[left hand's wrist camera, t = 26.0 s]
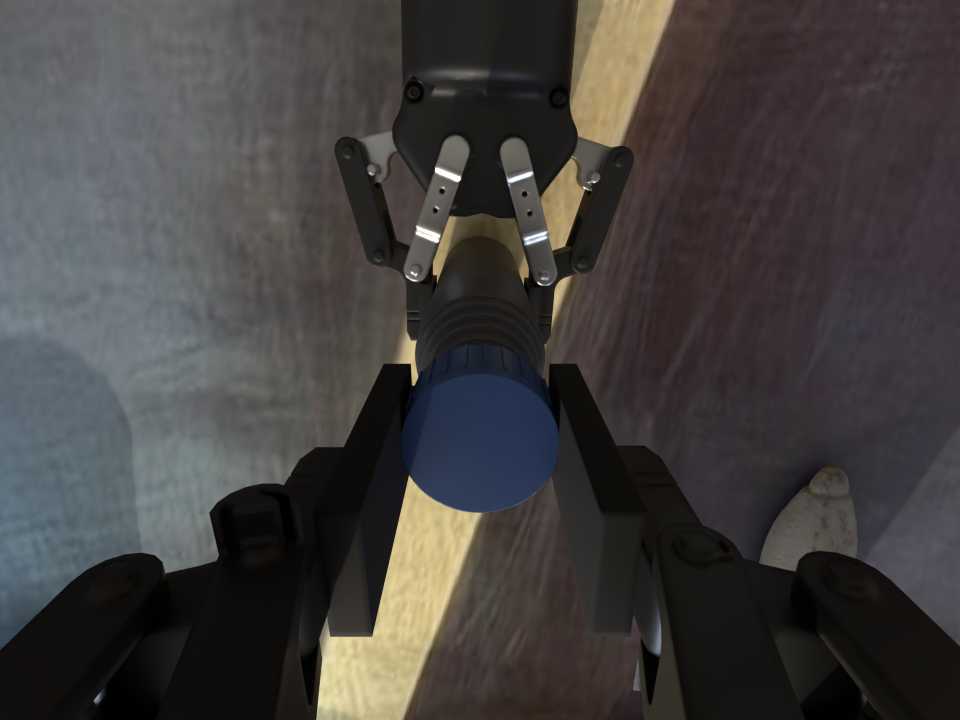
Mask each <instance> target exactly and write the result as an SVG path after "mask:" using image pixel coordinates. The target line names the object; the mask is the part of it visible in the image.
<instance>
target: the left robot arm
mask: <svg viewBox="0 0 960 720" xmlns="http://www.w3.org/2000/svg"><path fill="white" fill-rule="evenodd" d="M411 388H412V378H411V364H384V365H383V367H382V369H381V371H380V373H379V375H378V377H377V379H376V381H375V383H374V385H373V387H372V390H371V392H370V394H369V396H368V398H367V400H366V402H365V404H364V406H363V408H362V410H361V412H360V414H359V416H358V419H357V421H356V423H355V425H354V427H353V429H352V431H351V433H350V435H349V437H348V439H347V441H346V443H345V446H344V447H316V448H315V449H313V450H312V451H310V452H309V453H308V454H306V455H305V456H304V457H302V458H301V459H300V460H299V461H298V463H297V465H296V466H295V468H294V470H293V471H292V473H291V476H289V478H288V479H287V481H286V483H285V484H284V485H281V484H258V485H254V486H249V487H245V488H243V489H240V490H238V491H235V492H233V493H231V494H229V495H228V496H226V497H225V498H223V499H222V500H220V501H219V502H217V504H216V505H215V506H214V507H213V509H212V510H211V511H210V513H209V514H210V518H211V522H212V527H213V531H214V535H215V540H216V544H217V548H218V553H219V557H218V559H217V561H215V562H211V563H208V564H204V565H201V566H197V567H192V568H188V569H183V570H179V571H174V572H170V573H165V570H164V566H163V563H162V561H161V560H159V559H158V558H157V557H156V556H155V555H151V554H146V553H134V554H125V555H121V556H118V557H115V558H112V559H108V560H105V561H103V562H101V563H99V564H97V565H96V566H94V567H92V568H90V569H88V570H86V571H85V572H83V573H82V574H81V575H80V576H78V577H77V578H76V579H74V580H73V581H72V582H70V583H69V584H68V585H67V586H66V587H65V588H64V589H63V590H62V591H61V592H60V593H59V594H58V595H57V596H56V597H55V598H54V599H53V600H52V601H51V602H50V603H49V604H48V605H47V606H46V607H45V608H44V609H43V610H41V611H40V612H39V613H38V614H37V615H36V616H35V617H34V618H33V619H32V620H31V621H30V622H29V623H28V624H27V625H26V626H25V627H24V628H23V629H22V630H21V631H20V632H19V633H18V634H17V635H16V636H15V637H14V638H12V639H11V640H10V641H9V642H8V643H7V644H6V645H5V646H4V647H3V648H2V649H1V650H0V720H316V716H317V706H318V696H319V685H320V675H321V665H322V655H321V648H320V641H319V638H320V635H321V632H322V629H323V626H324V623H325V620H326V617H328V625H329V632H330V637H372V635H373V630H374V626H375V622H376V617H377V613H378V609H379V604H380V600H381V595H382V591H383V587H384V582H385V578H386V574H387V569H388V565H389V560H390V556H391V552H392V547H393V543H394V539H395V534H396V530H397V525H398V521H399V517H400V512H401V508H402V503H403V499H404V495H405V490H406V486H407V482H408V477H409V474H408V472H407V470H406V468H405V465H404V462H403V455H402V439H401V430H402V426H403V422H404V419H405V416H406V414H405V413H404V411H405V407H406V404H407V401H408V398H409V394H410V391H411ZM548 390H549V394H550V397H551V400H552V403H553V408H554V411H555V415H556V418H557V424H558V429H559V444H558V459H557V463H556V466H555V468H554V470H553V472H552V474H551V476H552V480H553V485H554V489H555V493H556V498H557V502H558V506H559V511H560V515H561V520H562V524H563V528H564V533H565V537H566V541H567V546H568V550H569V555H570V559H571V563H572V568H573V572H574V576H575V581H576V585H577V590H578V594H579V598H580V603H581V607H582V612H583V616H584V620H585V625H586V629H587V633H588V637H630V634H631V627H632V620H633V614H634V616H635V619H636V622H637V625H638V628H639V631H640V634H641V641H640V648H639V654H638V661H637V667H636V674H635V680H634V687H633V690H637V691H640V687H641V694H642V705H643V715H644V720H960V646H959V645H958V644H957V643H956V642H955V641H954V640H953V639H952V638H950V637H949V636H948V635H947V634H946V633H945V632H944V631H943V630H942V629H941V628H940V627H939V626H938V625H937V624H936V623H935V622H934V621H933V620H932V619H931V618H930V617H929V616H928V615H927V614H925V613H924V612H923V611H922V610H921V609H920V608H919V607H918V606H917V605H916V604H915V603H914V602H913V601H912V600H911V599H910V598H909V597H908V596H907V595H906V594H905V593H904V592H903V591H901V590H900V589H899V588H898V587H897V586H896V585H895V584H894V583H893V582H892V581H891V580H890V579H888V578H887V577H886V576H885V575H883V574H882V573H881V572H879V571H878V570H877V569H875V568H874V567H872V566H870V565H868V564H866V563H864V562H862V561H860V560H858V559H856V558H853V557H850V556H847V555H843V554H840V553H837V552H828V551H815V552H810V553H806V554H805V555H804V556H803V557H801V558H800V559H799V561H798V564H797V568H796V571H791V570H786V569H782V568H778V567H773V566H769V565H764V564H760V563H756V562H753V561H750V560H746V559H744V558H742V556H741V554H740V552H739V551H738V549H737V548H736V546H735V545H734V543H732V542H731V541H730V540H729V539H727V538H726V537H725V536H724V535H722V534H721V533H719V532H717V531H714V530H712V529H710V528H708V527H706V526H703V525H702V524H701V522H700V521H699V519H698V517H697V516H696V514H695V512H694V511H693V509H692V508H691V506H690V504H689V503H688V501H687V499H686V498H685V496H684V495H683V493H682V491H681V490H680V488H679V487H677V483H676V482H675V480H674V478H673V477H672V475H670V472H669V470H668V469H667V467H666V465H665V464H664V462H663V460H662V459H661V458H660V457H659V456H658V455H656V454H655V453H654V452H652V451H651V450H650V449H648V448H647V447H645V446H616V445H615V443H614V441H613V439H612V436H611V434H610V432H609V430H608V428H607V426H606V424H605V422H604V420H603V418H602V416H601V414H600V412H599V410H598V407H597V405H596V403H595V401H594V399H593V397H592V395H591V393H590V391H589V389H588V387H587V385H586V383H585V381H584V378H583V376H582V374H581V372H580V370H579V368H578V366H577V364H550V365H549V384H548ZM868 700H869V701H870V702H871V703H870V702H869V701H868ZM872 705H873V706H874V707H875V708H874V707H873V706H872ZM89 706H90V707H89ZM875 709H876V710H877V711H878V712H877V711H876V710H875Z"/></svg>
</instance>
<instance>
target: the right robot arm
mask: <svg viewBox="0 0 960 720" xmlns="http://www.w3.org/2000/svg"><path fill="white" fill-rule="evenodd" d="M577 9H578V0H401V18H402V72H403V98H402V104H401V108H400V111H399V113H398V115H397V117H396V119H395V121H394V124H393V128H392V130H389V131H385V132H381V133H377V134H373V135H369V136H365V137H361V138H355V137H343V138H341V139H339V140H338V141H337V143H336V145H335V155H336V158H337V162H338V165H339V168H340V172H341V175H342V178H343V181H344V185H345V188H346V191H347V195H348V198H349V201H350V205H351V208H352V211H353V214H354V218H355V221H356V224H357V228H358V231H359V234H360V237H361V241H362V244H363V247H364V251H365V254H366V257H367V260H368V262H369V263H370V264H371V265H372V266H374V267H377V268H383V267H385V268H387V269H390V270H392V271H395V272H397V273H399V274H400V275H401V276H402V277H403V278H404V280H405V282H406V291H407V332H408V334H409V336H410V339H411V340H414V341H417V339H418V335H419V332H420V330H421V327H422V324H423V321H424V319H425V316H426V313H427V310H428V307H429V305H430V302H431V299H432V296H433V294H434V291H435V288H436V285H437V275H433V260H434V258H435V255H436V252H437V249H438V246H439V243H440V240H441V238H442V235H443V232H444V230H445V227H446V224H447V221H448V218H449V216H459V217H467V216H471V215H475V214H479V213H485V214H488V215H492V216H495V217H498V218H515V221H516V225H517V228H518V232H519V235H520V238H521V242H522V245H523V249H524V252H525V256H526V260H527V263H528V267H529V278H524V288H525V291H526V293H527V296H528V299H529V302H530V305H531V307H532V310H533V313H534V316H535V318H536V321H537V324H538V327H539V329H540V332H541V335H542V338H543V342H544V344H546V343H547V341H548V339H549V337H550V335H551V324H552V313H553V301H554V290H555V287H556V285H557V283H558V282H559V281H560V280H561V279H563V278H565V277H568V276H571V275H574V274H577V273H579V274H586V273H588V272H590V271H591V270H592V269H593V268H594V266H595V263H596V260H597V258H598V255H599V253H600V250H601V247H602V245H603V242H604V239H605V237H606V234H607V231H608V229H609V226H610V223H611V221H612V218H613V215H614V213H615V210H616V207H617V205H618V202H619V200H620V197H621V194H622V192H623V189H624V186H625V184H626V181H627V178H628V176H629V173H630V170H631V168H632V165H633V162H634V156H633V153H632V151H631V150H630V149H629V148H627V147H625V146H617V147H608V146H605V145H602V144H599V143H596V142H593V141H590V140H587V139H584V138H581V137H578V133H577V129H576V126H575V124H574V122H573V119H572V115H571V111H570V90H571V78H572V67H573V55H574V44H575V32H576V20H577ZM397 152H399V154H400V155H401V157H402V158H403V160H404V161H405V163H406V164H407V166H408V167H409V169H410V170H411V171H412V173H413V174H414V176H415V177H416V179H417V180H418V182H419V183H420V185H421V186H422V188H423V189H424V191H425V192H426V194H427V195H426V198H425V201H424V204H423V207H422V210H421V213H420V216H419V219H418V222H417V225H416V229H415V234H414V237H413V240H412V243H411V246H409V245H406V244H404V243H401V242H399V241H397V239H396V235H395V232H394V228H393V225H392V221H391V218H390V214H389V210H388V207H387V203H386V200H385V196H384V192H383V189H382V185H381V182H384V181H386V180H387V179H388V177H389V176H390V172H391V168H390V161H391V158H392V156H393V155H394V154H395V153H397ZM570 158H571V159H572V160H574V162H575V163H576V165H577V175H576V180H577V183H578V185H579V186H580V187H581V188H582V189H585V191H584V194H583V197H582V200H581V203H580V206H579V208H578V211H577V214H576V217H575V220H574V223H573V225H572V228H571V231H570V234H569V237H568V240H567V243H566V245H565V247H562V248H559V249H556V250H553V251H552V248H551V245H550V241H549V236H548V229H547V225H546V221H545V217H544V213H543V209H542V206H541V202H540V196H541V195H542V194H543V193H544V191H545V190H546V189H547V187H548V186H549V185H550V184H551V182H552V181H553V180H554V178H555V177H556V176H557V175H558V173H559V172H560V171H561V170H562V168H563V167H564V166H565V164H566V163H567V162H568V161H569V159H570Z"/></svg>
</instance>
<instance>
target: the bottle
mask: <svg viewBox="0 0 960 720" xmlns="http://www.w3.org/2000/svg"><path fill="white" fill-rule="evenodd" d="M484 343H487V345H493V346H498V347H502V346H504V347H505V349H508V350H510V351H512V352H515V353H516V354H518V355H519V354H521V355H522V357H523V358H524V359H525V360H527V361H528V362H529V363H530V364H531V365H535V366H536V370H537V372H538V373H539V374H540V376H541V377H542V374H543V369H544V362H545V347H544V342H543V338H542V335H541V332H540V329H539V327H538V324H537V321H536V318H535V316H534V313H533V310H532V307H531V305H530V302H529V299H528V296H527V293H526V291H525V288H524V285H523V282H522V280H521V277H520V274H519V271H518V269H517V266H516V263H515V260H514V258H513V256H512V254H511V253H510V251H509V250H508V249H507V248H506V247H505V246H504V245H503V244H501V243H500V242H498V241H496V240H494V239H491V238H487V237H473V238H469V239H466V240H464V241H462V242H460V243H459V244H458V245H456V246H455V247H454V248H453V249H452V250H451V252H450V253H449V254H448V256H447V258H446V260H445V263H444V266H443V269H442V271H441V274H440V277H439V280H438V282H437V285H436V288H435V291H434V294H433V296H432V299H431V302H430V305H429V307H428V310H427V313H426V316H425V319H424V321H423V324H422V327H421V330H420V332H419V335H418V339H417V343H416V349H415V361H416V367H417V373H418V376H419V373H420V371H422V372H423V371H424V369H425V368H426V367H427V366H428V365H429V364H430V363H431V360H432V359H433V358H434V359H436V358H438V357H439V356H440V355H442V354H444V353H446V352H447V350H449V349H450V350H453V349H455V348H458V347H462V346H465V344H468V345H476V344H484Z"/></svg>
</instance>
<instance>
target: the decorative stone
mask: <svg viewBox="0 0 960 720" xmlns="http://www.w3.org/2000/svg"><path fill="white" fill-rule="evenodd" d="M849 488H850V487H849V481H848V478H847V475H846V474H845V473H844V471H843V470H841V469H840V468H838V467H835V466H825V467H823V468H821V470H820V471H819V472H818V473H817V474H816V475H815V476H814V477H813V479H812V480H811V482H810V485H807V486H805V487H803V488H802V489H801V490H800V491H799V492H798V493H797V494H796V495H795V496H794V497H793V498H792V499H791V501H790V502H789V503H788V505H787V506H785V507H784V509H783V510H782V511H781V513H780V514H779V516H778V517H777V519H776V520H775V522H774V523H773V525H772V527H771V529H770V531H769V533H768V535H767V538H766V540H765V543H764V546H763V549H762V553H761V557H760V561H759V563H760V564H764V565H769V566H773V567H778V568H782V569H786V570H791V571H796V568H797V564H798V561H799V559H800V558H801V557H803V556H804V555H805V554H806V553H810V552H815V551H828V552H837V553H840V554H843V555H847V556H850V557H853V558H856V553H857V543H858V536H857V531H858V527H857V522H856V519H855V511H854V506H853V501H852V497H851V495H850V493H849V492H848V491H849Z"/></svg>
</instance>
